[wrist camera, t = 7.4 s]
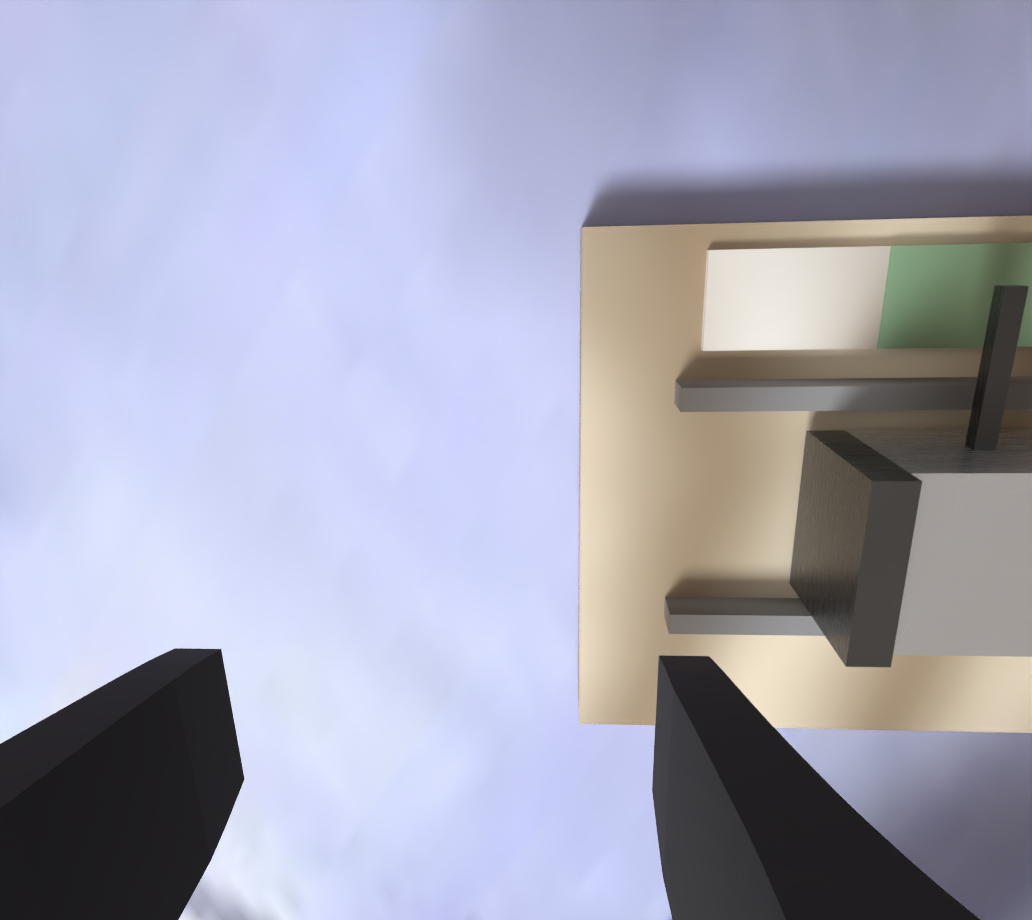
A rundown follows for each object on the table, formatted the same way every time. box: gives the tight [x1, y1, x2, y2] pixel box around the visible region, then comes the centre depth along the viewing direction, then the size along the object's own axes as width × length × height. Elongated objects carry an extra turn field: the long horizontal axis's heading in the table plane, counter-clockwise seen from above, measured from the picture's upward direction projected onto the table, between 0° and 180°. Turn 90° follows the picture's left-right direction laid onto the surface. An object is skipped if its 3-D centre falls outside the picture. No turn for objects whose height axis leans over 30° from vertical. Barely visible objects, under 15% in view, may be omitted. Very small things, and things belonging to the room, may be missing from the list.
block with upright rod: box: [789, 285, 1032, 667], centre depth 13 cm, size 5×7×3 cm
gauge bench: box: [578, 215, 1032, 733], centre depth 14 cm, size 17×12×5 cm
